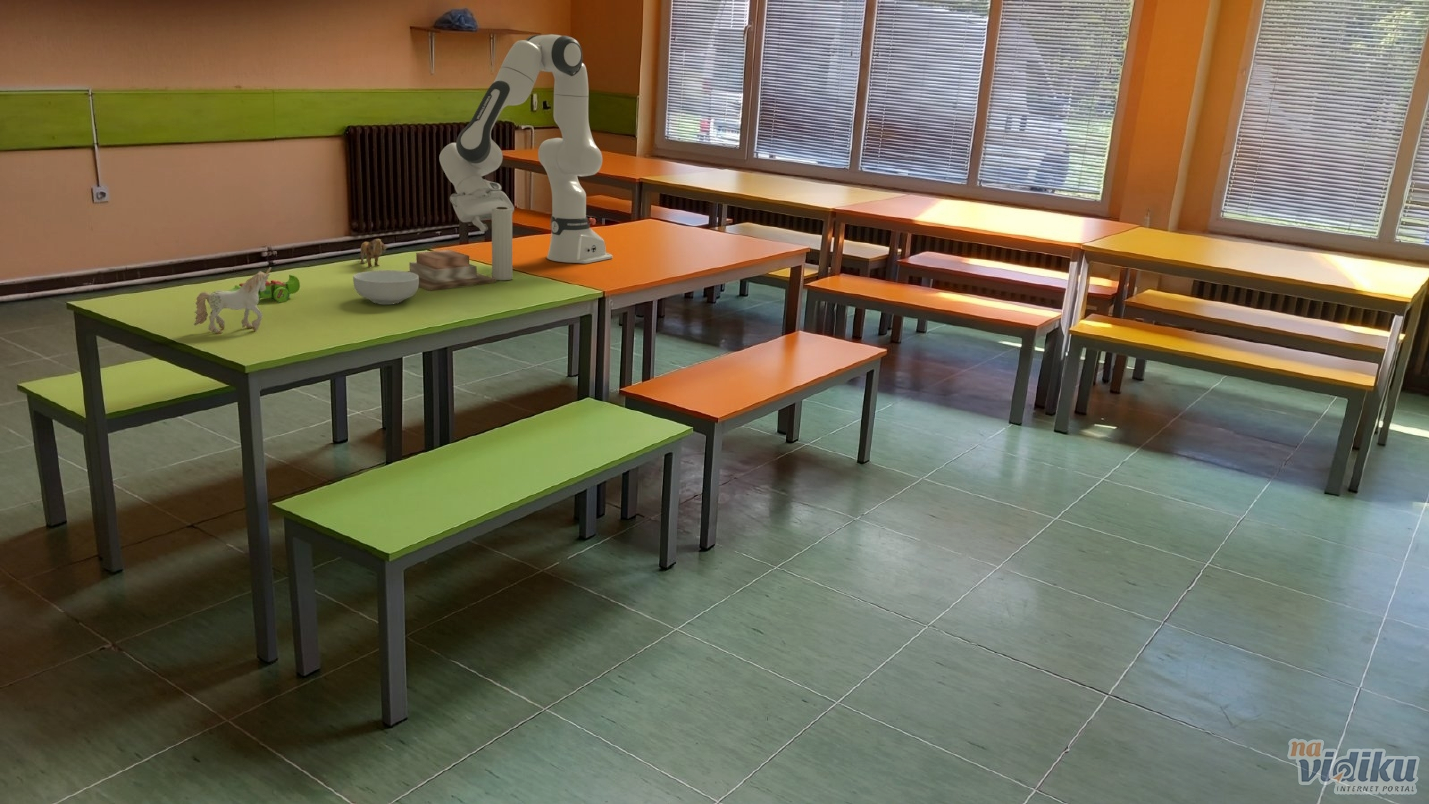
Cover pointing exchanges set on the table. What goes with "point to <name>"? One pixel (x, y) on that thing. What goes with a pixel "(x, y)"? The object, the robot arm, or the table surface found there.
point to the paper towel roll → (502, 243)
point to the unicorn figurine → (233, 303)
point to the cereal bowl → (386, 285)
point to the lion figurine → (372, 251)
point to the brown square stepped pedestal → (446, 270)
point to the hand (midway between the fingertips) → (497, 229)
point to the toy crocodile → (277, 289)
